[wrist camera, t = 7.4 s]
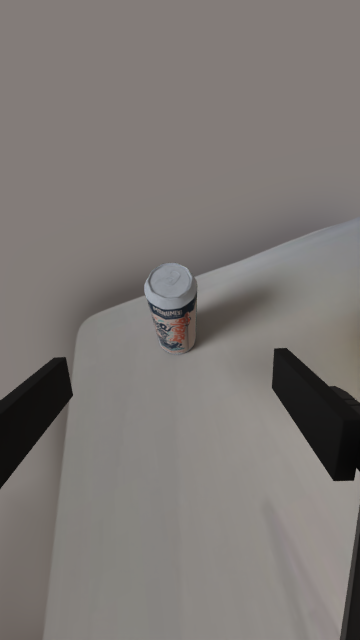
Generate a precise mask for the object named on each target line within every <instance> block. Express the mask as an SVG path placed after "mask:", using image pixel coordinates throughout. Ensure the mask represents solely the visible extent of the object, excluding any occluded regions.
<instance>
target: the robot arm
mask: <svg viewBox="0 0 360 640" xmlns="http://www.w3.org/2000/svg"><path fill="white" fill-rule="evenodd" d="M272 389H273V390H274V392H275V393H276V395H277V396H278V398H279V399H280V401H281V402H282V404H283V405H284V407H285V408H286V410H287V411H288V413H289V414H290V416H291V417H292V419H293V420H294V422H295V423H296V425H297V426H298V428H299V429H300V431H301V433H302V434H303V436H304V437H305V439H306V440H307V442H308V443H309V445H310V446H311V448H312V449H313V451H314V452H315V454H316V455H317V457H318V458H319V460H320V461H321V463H322V464H323V466H324V467H325V469H326V470H327V472H328V473H329V475H330V476H331V478H332V479H333V481H354V478H355V472H356V468H357V469H358V470H359V471H360V403H359V402H358V401H357V400H355V398H353V397H352V396H351V395H350V394H349V393H347V392H346V391H344V390H342V389H340V388H338V387H336V386H328V385H327V384H326V383H325V382H324V381H322V380H321V379H320V378H319V377H318V376H317V375H316V374H315V373H314V372H313V371H311V370H310V369H309V368H308V367H307V366H306V365H305V364H304V363H303V362H302V361H300V360H299V359H298V358H297V357H296V356H295V355H294V354H293V353H292V352H290V351H289V350H288V349H287V348H277V349H274V362H273V379H272ZM72 396H73V393H72V387H71V382H70V377H69V372H68V366H67V361H66V358H65V357H61V358H53V359H52V360H50V361H49V362H48V363H47V364H45V365H44V366H43V367H42V368H40V369H39V370H38V371H37V372H36V373H35V374H33V375H32V376H30V377H29V378H28V379H27V380H26V381H24V382H23V383H22V384H21V385H19V386H18V387H17V388H16V389H14V390H13V391H12V392H10V393H9V394H8V395H7V396H6V397H4V398H3V399H2V400H0V489H1V487H2V486H3V485H4V483H5V482H6V481H7V480H8V478H9V477H10V476H11V474H12V473H13V472H14V471H15V469H16V468H17V467H18V465H19V464H20V463H21V462H22V460H23V459H24V458H25V456H26V455H27V454H28V453H29V451H30V450H31V449H32V447H33V446H34V445H35V444H36V442H37V441H38V440H39V439H40V437H41V436H42V435H43V433H44V432H45V431H46V430H47V428H48V427H49V426H50V424H51V423H52V422H53V421H54V419H55V418H56V417H57V415H58V414H59V413H60V411H61V410H62V409H63V407H64V406H65V405H66V404H67V403H68V401H69V400H70V399H71V397H72ZM340 640H360V507H359V513H358V520H357V527H356V534H355V541H354V547H353V554H352V561H351V568H350V575H349V581H348V588H347V595H346V602H345V608H344V615H343V622H342V629H341V636H340Z"/></svg>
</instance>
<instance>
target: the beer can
mask: <svg viewBox="0 0 360 640" xmlns="http://www.w3.org/2000/svg"><path fill="white" fill-rule="evenodd" d="M144 291H145V295H146V298H147V300H148V304H149V307H150V311H151V314H152V318H153V321H154V325H155V328H156V332H157V335H158V339H159V343H160V345H161V347H162V348H163V349H164V350H165V351H166V352H168V353H171V354H183V353H185V352H187V351H189V350H190V349H191V348H192V347H193V345H194V343H195V340H196V312H197V281H196V279H195V277H194V276H193V275H192V273H190V271H189V270H188V269H187V268H186V267H184V266H182V265H179V264H177V263H168V264H161V265H160V266H158V267H157V268H155V269H154V270H152V271H151V273H150V275H149V277H148V279H147V281H146V283H145V286H144Z"/></svg>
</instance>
